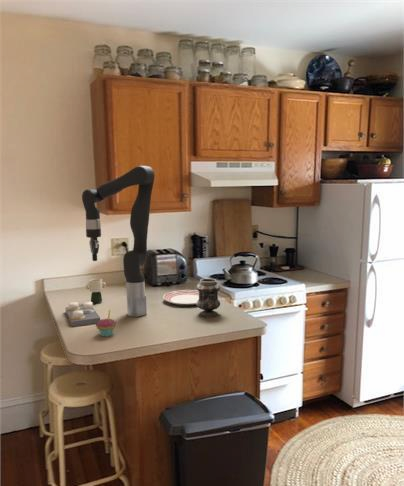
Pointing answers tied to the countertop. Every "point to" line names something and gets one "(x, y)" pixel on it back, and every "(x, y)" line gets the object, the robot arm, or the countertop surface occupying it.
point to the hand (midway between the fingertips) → (94, 260)
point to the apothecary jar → (208, 297)
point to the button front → (77, 314)
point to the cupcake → (106, 326)
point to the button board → (88, 316)
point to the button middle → (87, 305)
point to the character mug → (96, 289)
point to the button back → (73, 305)
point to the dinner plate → (182, 297)
